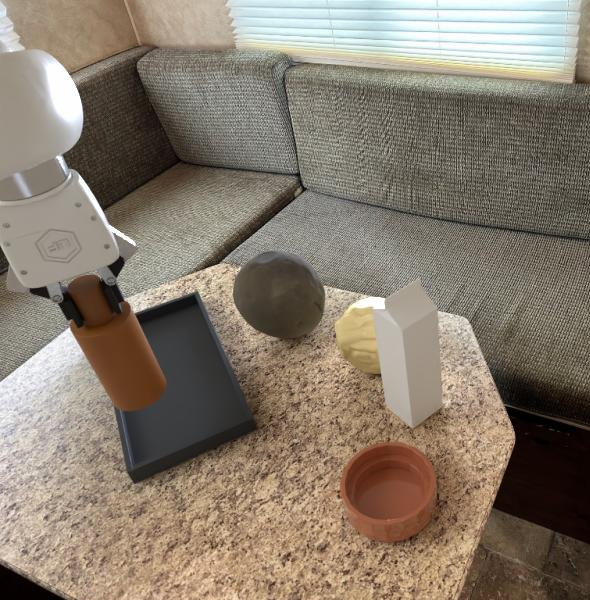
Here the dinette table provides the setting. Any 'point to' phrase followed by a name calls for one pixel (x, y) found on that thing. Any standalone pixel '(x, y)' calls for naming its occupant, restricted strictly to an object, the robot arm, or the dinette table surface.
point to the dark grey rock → (279, 294)
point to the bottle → (115, 347)
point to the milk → (409, 353)
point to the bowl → (389, 491)
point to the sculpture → (359, 336)
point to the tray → (183, 392)
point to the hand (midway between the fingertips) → (98, 312)
